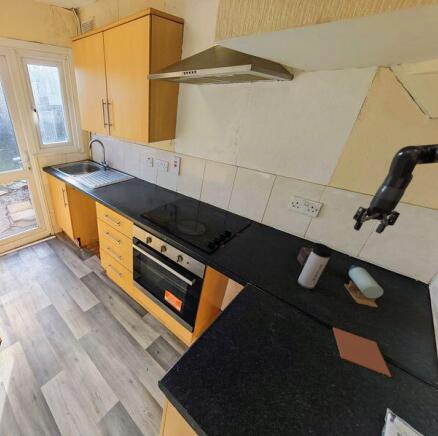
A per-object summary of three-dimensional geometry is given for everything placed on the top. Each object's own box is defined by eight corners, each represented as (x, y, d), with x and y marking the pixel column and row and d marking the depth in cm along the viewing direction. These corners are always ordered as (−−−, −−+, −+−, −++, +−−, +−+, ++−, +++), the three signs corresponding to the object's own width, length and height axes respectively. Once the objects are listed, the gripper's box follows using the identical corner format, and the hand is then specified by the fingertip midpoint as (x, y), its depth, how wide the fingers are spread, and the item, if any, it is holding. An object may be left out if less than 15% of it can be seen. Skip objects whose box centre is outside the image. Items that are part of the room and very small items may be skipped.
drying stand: (377, 307, 90) (382, 300, 88) (356, 303, 92) (361, 296, 90) (362, 288, 100) (366, 282, 98) (344, 284, 101) (347, 278, 99)
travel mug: (298, 276, 104) (316, 240, 95) (315, 284, 100) (335, 247, 91) (295, 282, 100) (312, 245, 91) (312, 291, 96) (332, 253, 87)
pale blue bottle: (378, 300, 90) (386, 288, 87) (360, 296, 91) (368, 284, 88) (356, 273, 104) (363, 263, 101) (341, 270, 105) (347, 260, 102)
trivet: (375, 343, 76) (375, 342, 76) (390, 377, 66) (391, 376, 66) (332, 328, 80) (333, 327, 80) (341, 357, 71) (341, 357, 70)
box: (301, 265, 112) (307, 253, 109) (296, 258, 117) (301, 246, 114) (314, 267, 111) (320, 255, 108) (308, 260, 116) (314, 248, 113)
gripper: (374, 197, 89) (354, 233, 96) (415, 202, 87) (391, 238, 94) (361, 191, 95) (344, 224, 103) (399, 195, 93) (378, 229, 101)
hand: (367, 231), depth 98 cm, fingers open, 8 cm apart
